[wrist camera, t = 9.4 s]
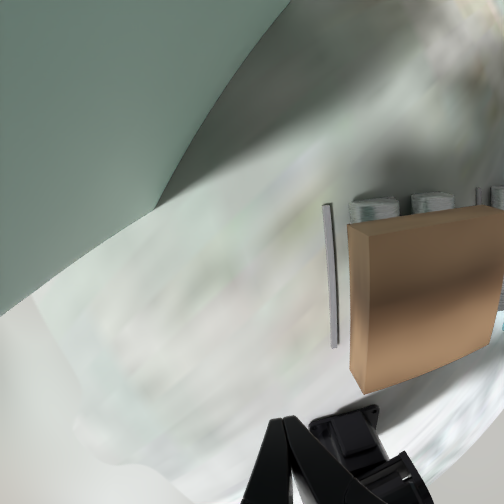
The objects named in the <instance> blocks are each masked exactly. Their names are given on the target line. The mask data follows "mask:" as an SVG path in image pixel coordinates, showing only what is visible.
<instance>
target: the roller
mask: <svg viewBox="0 0 504 504" xmlns="http://www.w3.org/2000/svg"><path fill="white" fill-rule="evenodd" d="M491 207H494V208H497V209H501V210H504V186H491ZM503 310H504V277H503V283H502V289H501V295H500V300H499V305H498V310H497V311H503Z"/></svg>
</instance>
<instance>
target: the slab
mask: <svg viewBox="0 0 504 504" xmlns="http://www.w3.org/2000/svg"><path fill="white" fill-rule="evenodd" d="M347 232H348V248H349V269H350V316H351V322H350V371H351V373H352V374H353V376H354V378H355V380H356V382H357V384H358V385H359V387H360V389H361V391H362V393H363V394H364V395H365V394H368V393H371V392H375V391H378V390H381V389H384V388H387V387H390V386H393V385H396V384H398V383H401V382H404V381H407V380H410V379H412V378H415V377H417V376H420V375H423V374H425V373H428V372H430V371H432V370H435V369H437V368H440V367H442V366H444V365H447V364H449V363H451V362H453V361H456V360H458V359H460V358H462V357H464V356H466V355H468V354H470V353H472V352H474V351H476V350H478V349H480V348H482V347H484V346H486V345H488V344H489V342H490V338H491V334H492V331H493V327H494V323H495V318H496V314H497V310H498V305H499V300H500V295H501V289H502V283H503V277H504V210H501V209H497V208H494V207H490V206H486V205H476V206H469V207H461V208H454V209H447V210H440V211H433V212H426V213H420V214H413V215H406V216H399V217H392V218H386V219H379V220H373V221H366V222H359V223H353V224H347Z"/></svg>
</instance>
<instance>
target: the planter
mask: <svg viewBox="0 0 504 504" xmlns="http://www.w3.org/2000/svg"><path fill="white" fill-rule="evenodd" d="M290 1H291V0H0V317H1V316H2V315H3V314H5V313H6V312H7V311H9V310H10V309H11V308H13V307H14V306H15V305H17V304H18V303H19V302H21V301H22V300H23V299H24V298H26V297H27V296H29V295H30V294H32V293H33V292H34V291H36V290H37V289H39V288H40V287H41V286H42V285H44V284H45V283H46V282H48V281H49V280H50V279H52V278H53V277H54V276H56V275H57V274H58V273H60V272H61V271H63V270H64V269H65V268H67V267H68V266H70V265H71V264H72V263H74V262H75V261H77V260H78V259H79V258H81V257H82V256H84V255H85V254H87V253H88V252H89V251H91V250H92V249H94V248H95V247H97V246H98V245H100V244H101V243H103V242H104V241H106V240H107V239H109V238H110V237H112V236H113V235H115V234H116V233H118V232H119V231H121V230H122V229H124V228H126V227H127V226H129V225H130V224H132V223H133V222H135V221H137V220H138V219H140V218H141V217H143V216H145V215H146V214H148V213H149V212H151V211H153V210H154V208H155V206H156V204H157V203H158V201H159V199H160V197H161V195H162V193H163V191H164V189H165V187H166V186H167V184H168V182H169V180H170V178H171V176H172V175H173V173H174V171H175V169H176V167H177V165H178V164H179V162H180V160H181V158H182V157H183V155H184V153H185V151H186V150H187V148H188V146H189V145H190V143H191V141H192V139H193V138H194V136H195V134H196V133H197V131H198V130H199V128H200V126H201V125H202V123H203V121H204V120H205V118H206V117H207V115H208V113H209V112H210V110H211V109H212V107H213V106H214V104H215V102H216V101H217V99H218V98H219V96H220V95H221V93H222V92H223V90H224V89H225V87H226V86H227V84H228V83H229V81H230V80H231V79H232V77H233V76H234V74H235V73H236V71H237V70H238V69H239V67H240V66H241V64H242V63H243V61H244V60H245V59H246V57H247V56H248V55H249V53H250V52H251V51H252V49H253V48H254V46H255V45H256V44H257V43H258V41H259V40H260V39H261V37H262V36H263V35H264V33H265V32H266V31H267V30H268V28H269V27H270V26H271V24H272V23H273V22H274V21H275V19H276V18H277V17H278V16H279V15H280V13H281V12H282V11H283V10H284V9H285V7H286V6H287V5H288V4H289V2H290Z"/></svg>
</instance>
